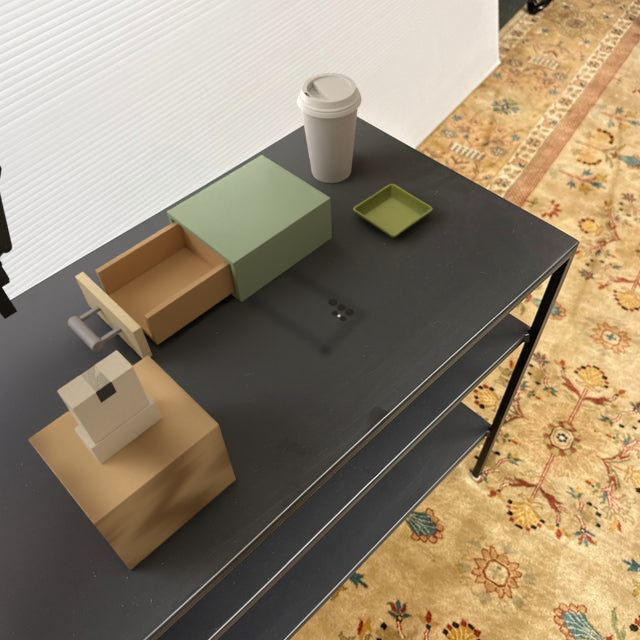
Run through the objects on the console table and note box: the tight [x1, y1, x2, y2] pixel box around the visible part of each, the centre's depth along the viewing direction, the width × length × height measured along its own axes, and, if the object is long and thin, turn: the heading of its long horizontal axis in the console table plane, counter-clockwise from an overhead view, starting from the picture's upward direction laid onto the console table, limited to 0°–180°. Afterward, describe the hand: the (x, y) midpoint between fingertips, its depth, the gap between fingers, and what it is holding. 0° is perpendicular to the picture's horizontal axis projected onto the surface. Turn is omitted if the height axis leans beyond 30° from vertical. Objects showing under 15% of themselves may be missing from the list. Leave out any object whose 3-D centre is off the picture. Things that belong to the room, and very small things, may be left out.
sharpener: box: [56, 349, 162, 464], centre depth 59 cm, size 7×3×9 cm, turn 134°
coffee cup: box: [296, 72, 363, 184], centre depth 100 cm, size 10×10×15 cm
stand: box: [28, 356, 237, 571], centre depth 67 cm, size 14×12×12 cm
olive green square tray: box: [352, 183, 434, 239], centre depth 97 cm, size 9×9×2 cm
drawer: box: [67, 222, 236, 360], centre depth 85 cm, size 21×13×6 cm, turn 134°
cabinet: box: [166, 154, 333, 303], centre depth 92 cm, size 18×15×8 cm
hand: (5, 308), depth 70 cm, fingers closed
